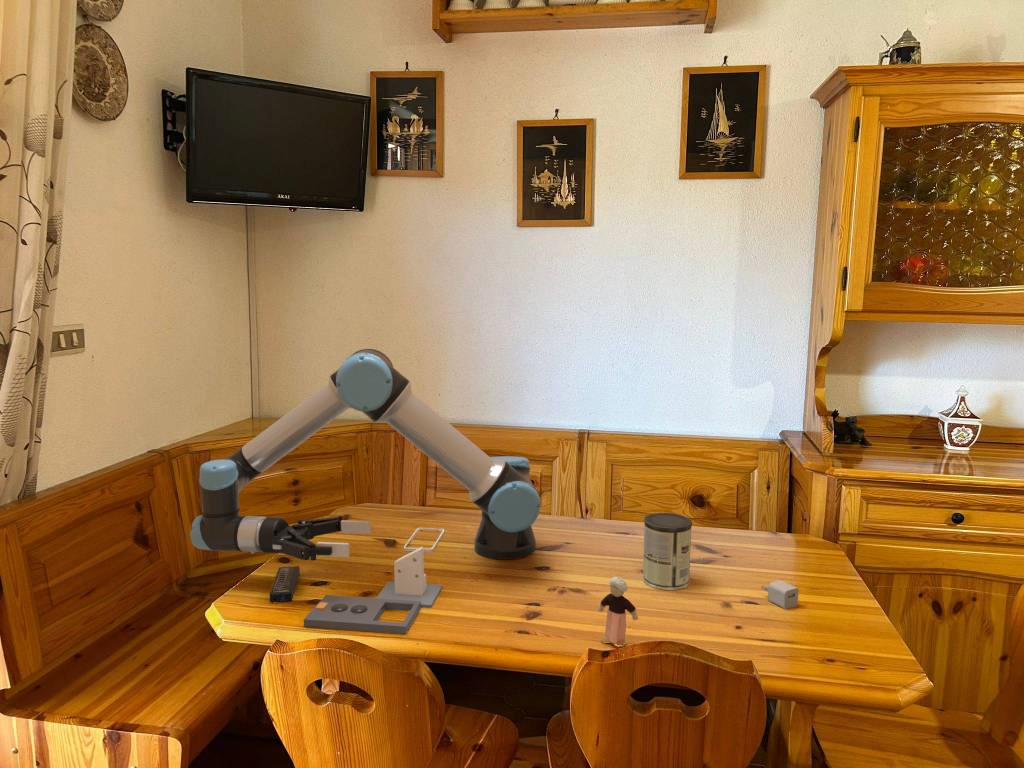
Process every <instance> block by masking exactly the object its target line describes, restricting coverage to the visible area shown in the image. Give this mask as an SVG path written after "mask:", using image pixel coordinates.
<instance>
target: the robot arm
mask: <svg viewBox="0 0 1024 768" xmlns="http://www.w3.org/2000/svg"><path fill="white" fill-rule="evenodd" d="M348 409H353V410H355V411H357V412H358V411H359V412H361V413H363V414H364V415H365V416H366V417H368V418H369V419H370V420H371V421H373V422H374V423H375V424H377V423H379V424H380V423H381V424H382V423H386V424H388V425H389V426H390V427H391V428H392V429H393V430H395V431H396V432H397V433H399V434H400V435H401V436H402V437H404V438H405V439H406V440H407V441H409V442H410V444H412V445H414V446H415V447H416V448H417V449H418V450H419V451H420V452H422V453H423V454H424V455H425V456H427V457H428V458H429V459H430V460H432V461H433V462H434V463H435V464H437V466H439V467H440V468H441V469H442V470H444V471H445V472H446V473H448V474H449V475H450V476H451V477H452V478H454V480H456V481H457V482H458V483H460V484H461V485H462V486H463V487H464V488H466V489H467V490H468V492H469V493H468V494H469V500H470V501H471V502H472V503H473V504H475V506H477V507H478V508H479V509H480V510H481V520H480V522H479V525H478V529H477V532H476V535H475V537H474V551H475V552H476V554H479V555H480V556H483V557H486V558H489V559H496V560H514V559H515V560H516V559H521V558H522V559H523V558H525V557H528V556H530V555H533V553H534V552H535V551H536V547H537V546H536V545H537V543H536V536H535V534H534V530H533V527H532V525H534V523H535V521H536V520H537V519H538V517H539V514H540V511H541V497H540V495H539V492H538V489H536V487H535V486H534V484H533V483H532V480H531V479H530V470H531V467H530V466H531V465H530V461H529V459H528V458H526V457H524V456H522V457H521V456H511V455H510V456H507V455H506V456H505V455H504V456H503V455H502V456H489V455H488V454H487V453H486V452H484V451H483V450H482V449H481V448H480V447H478V446H477V445H476V444H474V442H472V441H471V440H470V439H469V438H467V436H465V435H464V434H463V433H462V432H460V431H459V430H458V429H457V428H455V427H454V426H453V425H452V424H451V423H449V422H448V421H447V420H446V419H445V418H444V417H443V416H441V415H440V414H438V413H437V412H436V411H435V410H434V409H433V408H431V407H430V406H429V405H428V404H427V403H425V402H424V401H423V400H422V399H421V398H419V397H418V396H417V395H416V394H414V393H413V391H412V383H411V381H410V380H408V379H407V377H405V376H404V375H403V374H402V373H400V372H399V371H398V370H397V369H396V368H395V367H394V365H393V362H392V361H391V359H390V357H388V356H387V355H386V354H385V353H383V352H382V351H380V350H377V349H374V348H363V349H360V350H357V351H355V352H353V353H352V354H350V356H348V357H347V358H346V359H345V360H344V361H343V362H342V364H341V365H339V367H338V369H337V370H336V371H335V372H333V373H332V374H330V375H329V377H328V382H327V383H326V384H324V385H323V386H322V387H320V388H319V389H318V390H317V391H315V392H314V393H313V394H311V395H309V396H308V397H307V398H306V399H304V400H303V401H302V402H301V403H298V405H297V406H295V407H294V408H292V409H291V410H290V411H288V412H287V413H285V415H282V417H280V418H279V419H278V420H276V421H275V422H273V424H271V425H270V426H269V427H267V428H266V429H264V430H263V431H262V432H260V433H259V434H258V435H256V436H255V437H254V438H253V439H251V440H249V441H248V442H247V443H246V444H244V445H243V446H242V447H241V448H239V449H238V450H236V451H235V452H234V453H232V454H230V455H228V456H227V457H226V458H224V459H214V460H209V461H206V462H204V463H202V464H201V465H200V466H199V478H198V481H199V485H200V488H199V489H200V499H201V510H202V511H201V512H202V513H201V515H198V516H196V517H195V519H194V520H193V522H192V524H191V531H189V532H190V533H189V534H190V540H191V544H192V545H193V547H195V548H196V549H199V550H207V551H212V552H218V551H219V552H245V553H247V552H250V554H252V555H253V554H254V555H255V554H256V553H262V552H263V553H265V554H266V553H267V554H283V555H286V556H289V557H293V558H297V559H299V560H302V561H309V560H310V561H313V562H314V561H317V557H333V558H339V557H340V558H349V557H350V543H349V542H328V541H318V542H316V543H314V542H312V541H311V540H313V539H314V538H315V537H319V536H324V535H329V534H334V533H338V532H341V534H358V535H359V534H361V535H371V533H372V530H371V529H372V528H371V520H349V519H348V520H344V516H342V515H339V516H334V517H324V518H314V519H299V520H297V523H295V524H292V525H289V524H288V522H287V520H286V519H285V518H284V517H279V516H276V517H274V516H269V517H266V516H257V515H256V516H255V515H254V516H253V515H246V516H245V515H243V516H242V515H240V493H241V491H243V489H245V487H246V486H248V484H250V483H251V482H252V481H253V480H254V479H256V478H258V477H259V476H260V475H261V474H262V473H264V472H265V471H267V470H268V469H269V468H270V467H272V466H273V465H275V464H276V463H277V462H279V461H280V460H281V459H282V458H284V457H285V456H286V455H288V454H289V453H290V452H292V451H294V450H295V449H296V448H297V447H299V446H300V445H301V444H302V443H305V441H307V440H308V439H310V438H311V437H312V436H314V435H315V434H316V433H317V432H319V431H320V430H321V429H323V428H325V426H327V425H328V424H330V423H331V422H333V420H335V419H336V418H337V417H339V416H341V415H342V414H343V413H344V412H346V411H347V410H348Z"/></svg>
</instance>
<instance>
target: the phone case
mask: <svg viewBox="0 0 1024 768" xmlns="http://www.w3.org/2000/svg"><path fill="white" fill-rule="evenodd" d="M419 530H431V531H433V530H434V531H439V532H440V531H442V532H440V534H439V536H438V537H437V539H436V541H435V543H434V544H433V545H432V547H431V548H424V547H423V553H429V552H431V553H433V552H434V551H435V549H436V548H437V546H438V544H439V543H440V541H441V539H442V538H443V536H444V535H443V534H445V529H444V528H432V527H417V528H416V529H415V531H414V532H413V534H412V535H411V536H410V537H409V538H408V540H407V542H405V545H404V546H403V551H404V550H405V551H404V552H409V551H415V550H417V549H419V548H420V547H407V546H408V544H410V543H411V542H412V541H413V539H414V538H415V537H416V535H417V534H418V531H419ZM419 532H420V531H419ZM416 533H417V534H416ZM415 534H416V535H415ZM442 535H443V536H442ZM414 536H415V537H414ZM413 537H414V538H413ZM441 537H442V538H441ZM411 540H412V541H411ZM439 540H440V541H439ZM410 541H411V542H410ZM409 542H410V543H409ZM438 542H439V543H438ZM437 543H438V544H437ZM436 545H437V546H436ZM435 547H436V548H435ZM434 548H435V549H434ZM433 550H434V551H433ZM432 551H433V552H432Z"/></svg>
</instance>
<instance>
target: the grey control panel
mask: <svg viewBox="0 0 1024 768" xmlns="http://www.w3.org/2000/svg"><path fill="white" fill-rule="evenodd" d="M385 610H387V611H388V610H389V611H405V612H408V613H407V615H406V617H405V618H404V620H403V621H402V622H400V621H399V622H397V621H386V620H385V621H384V620H379V619H380V617H381V616H382V614H383V613H384V612H385ZM421 610H422V607H421V601H409V600H395V599H380V598H377V597H364V596H351V595H350V596H348V595H347V596H346V595H333V594H325V595H324V596H323V597H322V599H321V600H320V601H319V602H318V603H317V604H316V605H315V606H314V607H313V609H311V611H310V612H308V614H307V615H306V616H305V617H304V618H303V627H306V628H314V629H315V628H316V629H317V628H318V629H331V630H341V631H342V630H343V631H344V630H345V631H346V630H347V631H357V632H358V631H360V632H368V633H369V632H370V633H371V632H372V633H382V632H383V633H384V634H385V633H386V634H395V633H396V634H397V633H398V635H407V633H408V632H409V629H410V628H411V626H412V625H411V624H413V622H414V621H415V620H414V619H416V617H417V616H418V614H419V612H420V611H421ZM407 631H408V632H407Z"/></svg>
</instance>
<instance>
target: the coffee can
mask: <svg viewBox="0 0 1024 768" xmlns="http://www.w3.org/2000/svg"><path fill="white" fill-rule="evenodd" d="M643 522H644V523H643V524H644V526H643V527H644V530H643V532H644V533H643V534H644V535H643V570H642V571H643V573H642V581H643V583H644V584H645V585H647V586H649V587H650V588H653V587H654V589H657V590H661V589H662V590H663V591H679V589H680V590H683V588H684V589H685V588H687V587H688V586H689V585H690V572H691V571H690V570H691V569H690V567H691V566H690V565H691V544H692V541H691V539H692V526H693V521H692V519H690V517H687V516H684V515H682V514H678V513H672V512H655V513H651V514H648V515H645V517H644V519H643Z"/></svg>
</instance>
